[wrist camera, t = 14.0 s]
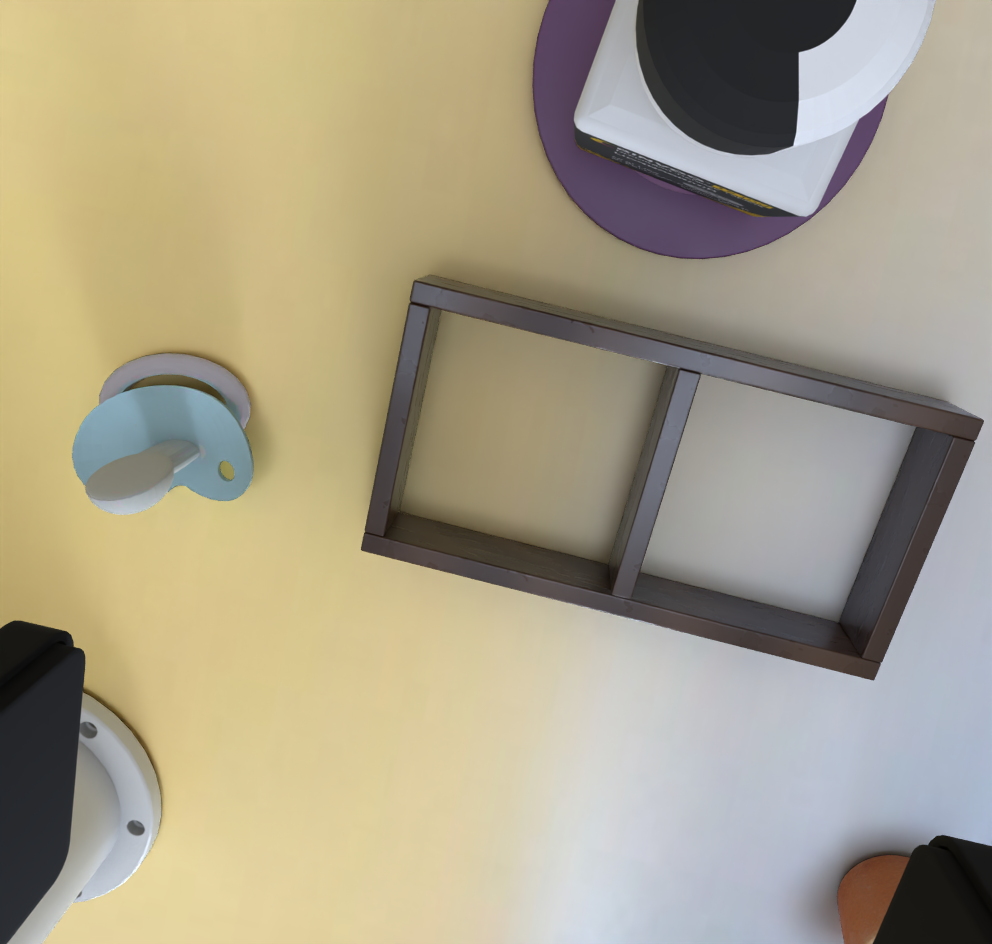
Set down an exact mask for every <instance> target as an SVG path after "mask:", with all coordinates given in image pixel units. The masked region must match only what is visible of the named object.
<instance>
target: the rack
mask: <svg viewBox="0 0 992 944" xmlns="http://www.w3.org/2000/svg"><path fill="white" fill-rule="evenodd" d="M410 302H411V303H409V306H408V311H407V316H406V321H405V327H404V332H403V337H402V342H401V347H400V352H399V357H398V362H397V367H396V373H395V378H394V383H393V388H392V393H391V398H390V403H389V408H388V413H387V419H386V424H385V429H384V434H383V439H382V444H381V449H380V454H379V459H378V465H377V470H376V475H375V480H374V485H373V490H372V495H371V500H370V505H369V511H368V516H367V521H366V526H365V533H364V536H363V541H362V546H361V550H362V551H365V552H369V553H373V554H377V555H381V556H385V557H389V558H393V559H397V560H400V561H404V562H408V563H412V564H416V565H420V566H424V567H428V568H432V569H436V570H440V571H444V572H448V573H452V574H456V575H460V576H464V577H467V578H471V579H475V580H479V581H483V582H487V583H491V584H495V585H499V586H503V587H507V588H511V589H515V590H519V591H523V592H527V593H531V594H534V595H538V596H542V597H546V598H550V599H554V600H558V601H562V602H566V603H570V604H574V605H578V606H582V607H586V608H590V609H594V610H598V611H602V612H605V613H609V614H613V615H617V616H621V617H625V618H629V619H633V620H637V621H641V622H645V623H649V624H653V625H657V626H661V627H665V628H669V629H672V630H676V631H680V632H684V633H688V634H692V635H696V636H700V637H704V638H708V639H712V640H716V641H720V642H724V643H728V644H732V645H736V646H739V647H743V648H747V649H751V650H755V651H759V652H763V653H767V654H771V655H775V656H779V657H783V658H787V659H791V660H795V661H799V662H803V663H806V664H810V665H814V666H818V667H822V668H826V669H830V670H834V671H838V672H842V673H846V674H850V675H854V676H858V677H862V678H866V679H870V680H874V679H875V677H876V675H877V672H878V670H879V667H880V665H881V663H882V661H883V659H884V656H885V654H886V651H887V649H888V647H889V644H890V642H891V640H892V637H893V635H894V633H895V630H896V628H897V626H898V623H899V621H900V619H901V616H902V614H903V611H904V609H905V607H906V604H907V602H908V600H909V597H910V595H911V593H912V590H913V588H914V586H915V583H916V581H917V579H918V576H919V574H920V571H921V569H922V567H923V564H924V562H925V560H926V557H927V555H928V553H929V550H930V548H931V546H932V543H933V541H934V539H935V536H936V534H937V532H938V529H939V527H940V524H941V522H942V520H943V517H944V515H945V513H946V510H947V508H948V506H949V503H950V501H951V499H952V496H953V494H954V492H955V489H956V487H957V484H958V482H959V480H960V477H961V475H962V473H963V470H964V468H965V466H966V463H967V461H968V459H969V456H970V454H971V452H972V449H973V447H974V444H975V442H974V441H975V440H976V439H977V437H978V434H979V432H980V430H981V427H982V425H983V423H984V420H983V419H981V418H979V417H977V416H975V415H973V414H971V413H969V412H967V411H965V410H963V409H961V408H959V407H957V406H955V405H953V404H951V403H949V402H946V401H942V400H938V399H934V398H930V397H926V396H922V395H918V394H914V393H909V392H905V391H901V390H897V389H893V388H889V387H885V386H881V385H877V384H873V383H869V382H865V381H861V380H856V379H852V378H848V377H844V376H840V375H836V374H832V373H828V372H824V371H820V370H816V369H812V368H808V367H803V366H799V365H795V364H791V363H787V362H783V361H779V360H775V359H771V358H767V357H763V356H759V355H755V354H751V353H746V352H742V351H738V350H734V349H730V348H726V347H722V346H718V345H714V344H710V343H706V342H702V341H698V340H693V339H689V338H685V337H681V336H677V335H673V334H669V333H665V332H661V331H657V330H653V329H649V328H645V327H640V326H636V325H632V324H628V323H624V322H620V321H616V320H612V319H608V318H604V317H600V316H596V315H592V314H587V313H583V312H579V311H575V310H571V309H567V308H563V307H559V306H555V305H551V304H547V303H543V302H539V301H534V300H530V299H526V298H522V297H518V296H514V295H510V294H506V293H502V292H498V291H494V290H490V289H486V288H481V287H477V286H473V285H469V284H465V283H461V282H457V281H453V280H449V279H445V278H441V277H437V276H433V275H427V276H424V277H422V278H419V279H417V280H414V282H413V286H412V291H411V296H410ZM441 310H444V311H448V312H452V313H456V314H460V315H464V316H468V317H472V318H477V319H481V320H485V321H489V322H493V323H497V324H501V325H505V326H509V327H513V328H517V329H521V330H525V331H529V332H533V333H537V334H541V335H546V336H550V337H554V338H558V339H562V340H566V341H570V342H574V343H578V344H582V345H586V346H590V347H594V348H598V349H602V350H606V351H611V352H615V353H619V354H623V355H627V356H631V357H635V358H639V359H643V360H647V361H651V362H655V363H659V364H663V365H667V369H666V373H665V376H664V379H663V383H662V386H661V389H660V393H659V396H658V400H657V403H656V406H655V410H654V413H653V416H652V420H651V423H650V426H649V430H648V433H647V437H646V440H645V443H644V447H643V450H642V453H641V457H640V460H639V463H638V467H637V470H636V474H635V477H634V480H633V484H632V487H631V490H630V494H629V497H628V500H627V504H626V507H625V511H624V514H623V517H622V521H621V524H620V527H619V531H618V534H617V537H616V541H615V544H614V548H613V551H612V554H611V558H610V561H609V565H607V564H603V563H599V562H595V561H591V560H587V559H583V558H579V557H575V556H571V555H567V554H563V553H559V552H555V551H551V550H547V549H543V548H539V547H535V546H531V545H527V544H523V543H520V542H516V541H512V540H508V539H504V538H500V537H496V536H492V535H488V534H484V533H480V532H476V531H472V530H468V529H464V528H460V527H456V526H452V525H448V524H444V523H440V522H436V521H432V520H428V519H424V518H420V517H416V516H413V515H409V514H405V513H401V512H399V511H400V507H401V502H402V497H403V492H404V487H405V483H406V478H407V473H408V468H409V463H410V459H411V454H412V449H413V444H414V439H415V435H416V430H417V425H418V420H419V415H420V411H421V406H422V401H423V396H424V391H425V387H426V382H427V377H428V372H429V367H430V363H431V358H432V353H433V348H434V343H435V339H436V334H437V329H438V324H439V319H440V314H441ZM701 374H704V375H708V376H712V377H716V378H720V379H724V380H728V381H732V382H736V383H740V384H745V385H749V386H753V387H757V388H761V389H765V390H769V391H773V392H777V393H781V394H785V395H789V396H793V397H797V398H801V399H805V400H810V401H814V402H818V403H822V404H826V405H830V406H834V407H838V408H842V409H846V410H850V411H854V412H858V413H862V414H866V415H870V416H875V417H879V418H883V419H887V420H891V421H895V422H899V423H903V424H907V425H911V426H915V427H917V429H916V431H915V434H914V436H913V439H912V441H911V444H910V446H909V449H908V451H907V454H906V456H905V459H904V461H903V464H902V466H901V469H900V471H899V474H898V476H897V479H896V481H895V484H894V486H893V489H892V491H891V494H890V496H889V499H888V501H887V504H886V506H885V509H884V511H883V513H882V516H881V518H880V521H879V523H878V526H877V528H876V531H875V533H874V536H873V538H872V541H871V543H870V546H869V548H868V551H867V553H866V556H865V558H864V561H863V563H862V566H861V568H860V571H859V573H858V576H857V578H856V581H855V583H854V586H853V588H852V591H851V593H850V596H849V598H848V601H847V603H846V606H845V608H844V611H843V613H842V616H841V618H840V621H839V623H837V622H833V621H829V620H825V619H821V618H817V617H813V616H809V615H805V614H801V613H797V612H793V611H789V610H785V609H781V608H777V607H773V606H769V605H765V604H761V603H757V602H753V601H749V600H745V599H741V598H738V597H734V596H730V595H726V594H722V593H718V592H714V591H710V590H706V589H702V588H698V587H694V586H690V585H686V584H682V583H678V582H674V581H670V580H666V579H662V578H658V577H654V576H650V575H646V574H642V573H640V569H641V566H642V563H643V560H644V556H645V553H646V550H647V547H648V544H649V540H650V537H651V534H652V531H653V528H654V524H655V521H656V518H657V515H658V511H659V508H660V505H661V502H662V499H663V495H664V492H665V489H666V486H667V483H668V479H669V476H670V473H671V470H672V466H673V463H674V460H675V457H676V454H677V450H678V447H679V444H680V441H681V437H682V434H683V431H684V428H685V425H686V421H687V418H688V415H689V412H690V409H691V405H692V402H693V399H694V396H695V392H696V389H697V386H698V383H699V380H700V376H701Z"/></svg>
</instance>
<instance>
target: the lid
mask: <svg viewBox="0 0 992 944" xmlns="http://www.w3.org/2000/svg"><path fill="white" fill-rule="evenodd" d="M615 1H616V0H549V2H548V5H547V7H546V10H545V12H544V16H543V19H542V23H541V26H540V30H539V33H538V37H537V43H536V49H535V56H534V62H533V99H534V111H535V116H536V121H537V125H538V130H539V135H540V138H541V141H542V144H543V147H544V150H545V152H546V155H547V158H548V160H549V162H550V164H551V166H552V168H553V170H554V172H555V174H556V176H557V178H558V180H559V181H560V183H561V184H562V186H563V187H564V189H565V190H566V192H567V193H568V195H569V196H570V197H571V198H572V200H573V201H574V202H575V203H576V204H577V205H578V206H579V208H580V209H581V210H582V211H583V212H584V213H585V214H586V215H587V216H588V217H589V218H591V219H592V220H593V221H594V222H595V223H596V224H597V225H599V226H600V227H601V228H603V229H604V230H606V231H607V232H609V233H610V234H612V235H613V236H615V237H617V238H618V239H620V240H622V241H624V242H626V243H629V244H631V245H633V246H635V247H637V248H640V249H643V250H646V251H649V252H652V253H655V254H659V255H664V256H670V257H676V258H687V259H708V258H719V257H726V256H731V255H735V254H740V253H744V252H748V251H750V250H753V249H756V248H759V247H761V246H764V245H767V244H769V243H771V242H773V241H775V240H777V239H779V238H781V237H783V236H785V235H787V234H789V233H790V232H792V231H793V230H795V229H796V228H798V227H799V226H801V225H802V224H804V223H805V222H807V221H808V220H810V219H811V218H812V217H813V216H814V215H815V214H816V213H818V212H819V211H820V210H821V209H822V208H823V207H824V206H826V205H827V204H828V203H829V202H830V201H831V200H832V199H833V197H834V196H835V195H836V194H837V193H838V192H839V191H840V190H841V189H842V188H843V186H844V185H845V184H846V183H847V181H848V180H849V178H850V177H851V176H852V174H853V173H854V172H855V170H856V169H857V167H858V166H859V165H860V163H861V161H862V159H863V157H864V156H865V154H866V152H867V150H868V148H869V147H870V145H871V143H872V141H873V138H874V136H875V133H876V131H877V129H878V126H879V124H880V121H881V119H882V116H883V112H884V108H885V105H886V101H887V98H888V95H887V96H886V97H885V98H884V99H883V100H882V101H881V102H880V103H879V104H877V105H876V106H875V107H874V108H873V109H872V110H871V111H870V112H869V113H867V114H866V115H864V116H863V117H861V118H860V119H859V120H858V123H857V125H856V127H855V129H854V131H853V133H852V135H851V138H850V140H849V142H848V144H847V146H846V148H845V150H844V152H843V155H842V157H841V159H840V161H839V163H838V165H837V167H836V170H835V172H834V174H833V176H832V178H831V180H830V182H829V184H828V187H827V189H826V191H825V193H824V195H823V197H822V199H821V202H820V204H819V206H818V208H817V209H816V210H815V212H814V213H813V214H811V215H808V216H806V217H755V216H751V215H748V214H746V213H743V212H741V211H738V210H736V209H733V208H730V207H728V206H725V205H723V204H720V203H718V202H715V201H712V200H710V199H707V198H705V197H702V196H700V195H697V194H694V193H692V192H689V191H687V190H684V189H682V188H679V187H676V186H674V185H671V184H669V183H666V182H664V181H661V180H659V179H656V178H653V177H651V176H648V175H646V174H643V173H641V172H638V171H635V170H633V169H630V168H628V167H625V166H623V165H620V164H617V163H615V162H612V161H610V160H607V159H605V158H602V157H599V156H597V155H594V154H592V153H589V152H587V151H584V150H582V149H580V148H579V147H578V146H577V144H576V142H575V132H574V114H575V110H576V108H577V105H578V102H579V99H580V97H581V94H582V91H583V88H584V86H585V83H586V80H587V78H588V75H589V72H590V69H591V67H592V64H593V61H594V58H595V56H596V53H597V50H598V47H599V45H600V42H601V39H602V37H603V34H604V31H605V28H606V26H607V23H608V20H609V17H610V15H611V12H612V9H613V7H614V4H615Z"/></svg>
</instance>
